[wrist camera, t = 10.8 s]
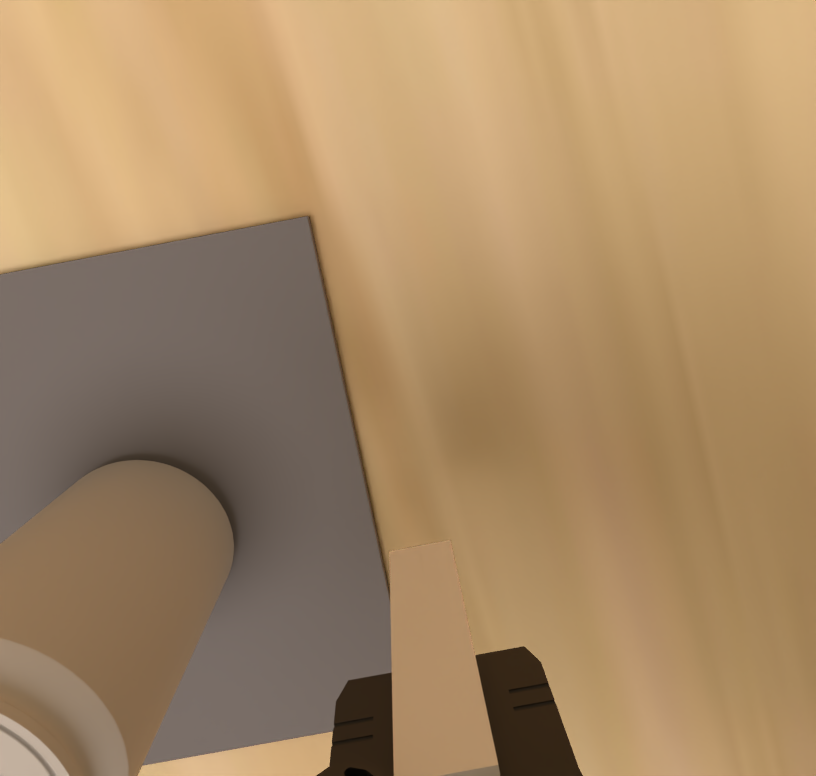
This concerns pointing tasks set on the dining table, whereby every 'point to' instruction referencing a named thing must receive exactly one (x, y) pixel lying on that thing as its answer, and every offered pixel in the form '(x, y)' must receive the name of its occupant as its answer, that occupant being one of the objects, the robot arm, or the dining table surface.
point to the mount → (212, 457)
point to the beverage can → (104, 617)
